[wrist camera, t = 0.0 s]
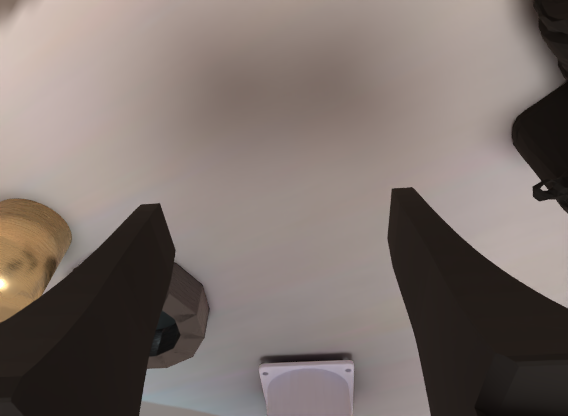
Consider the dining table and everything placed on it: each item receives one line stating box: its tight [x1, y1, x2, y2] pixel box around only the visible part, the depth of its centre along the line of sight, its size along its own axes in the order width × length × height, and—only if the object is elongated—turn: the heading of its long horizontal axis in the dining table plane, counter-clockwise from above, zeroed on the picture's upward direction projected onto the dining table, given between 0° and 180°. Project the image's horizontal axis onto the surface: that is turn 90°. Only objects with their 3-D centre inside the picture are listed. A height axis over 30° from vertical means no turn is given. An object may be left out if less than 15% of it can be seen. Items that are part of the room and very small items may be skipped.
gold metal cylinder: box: [0, 199, 72, 323], centre depth 26 cm, size 5×5×6 cm
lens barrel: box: [73, 263, 209, 369], centre depth 32 cm, size 10×10×3 cm
